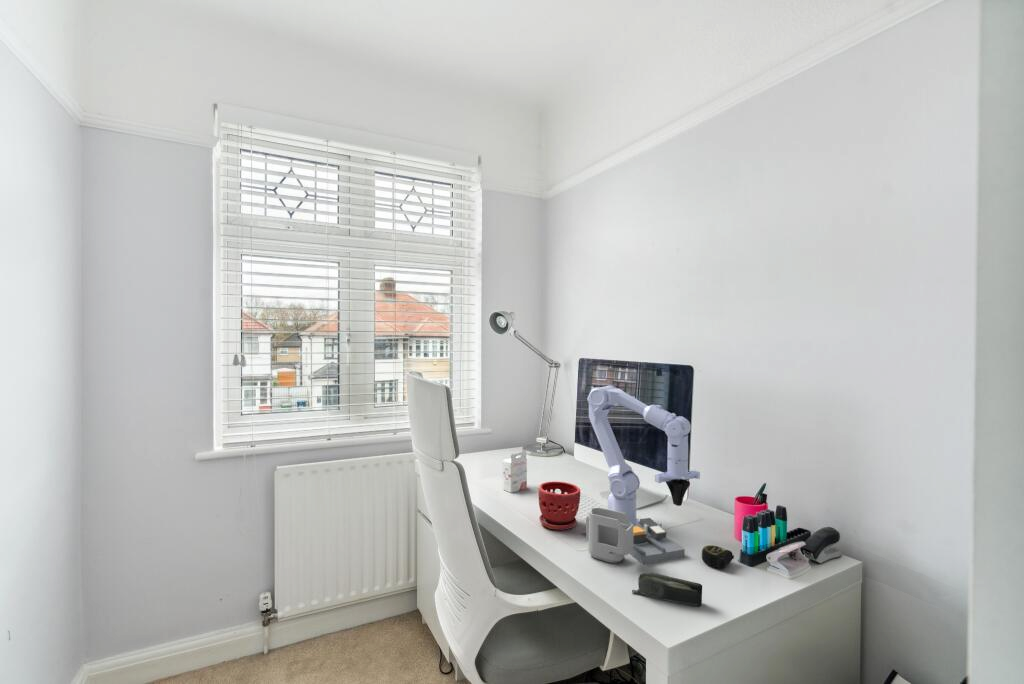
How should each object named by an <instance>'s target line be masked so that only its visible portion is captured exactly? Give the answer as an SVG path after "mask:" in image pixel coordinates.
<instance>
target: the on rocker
mask: <svg viewBox="0 0 1024 684" xmlns="http://www.w3.org/2000/svg"><path fill="white" fill-rule="evenodd" d="M639 523H640V525H641V526H642V527H643V528H644V524H646V525H648V532H649V533H650V534H651V535H652V536H653V537H654V538H655V539H660V538H667V535H668V534H667V531H665V530H664V529H663V527H662V528H661V527H660V526H659V525H657V523H656V522H655V521H654V520H653V519H652V518H651V517H645V518H640V519H639Z"/></svg>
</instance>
